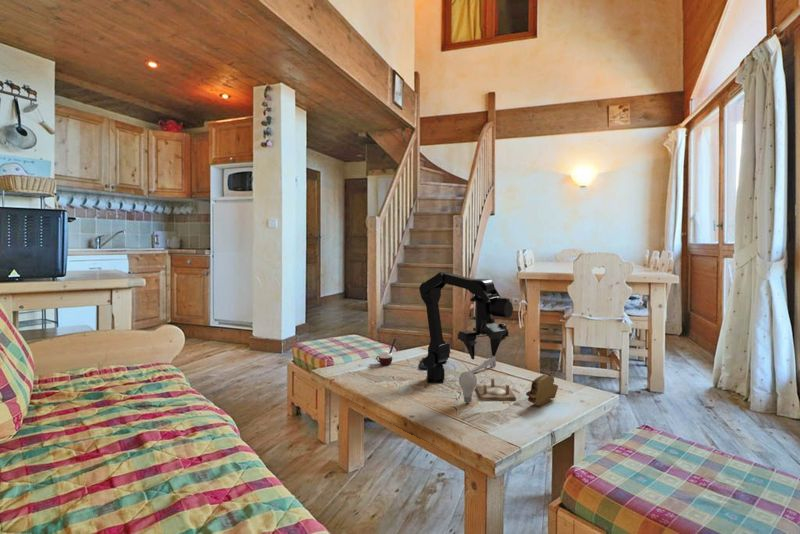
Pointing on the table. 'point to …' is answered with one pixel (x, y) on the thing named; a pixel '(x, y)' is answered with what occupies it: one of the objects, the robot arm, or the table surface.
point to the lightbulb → (467, 385)
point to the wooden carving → (542, 390)
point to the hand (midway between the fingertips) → (483, 357)
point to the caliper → (485, 364)
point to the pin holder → (495, 392)
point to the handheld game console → (422, 362)
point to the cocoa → (386, 356)
